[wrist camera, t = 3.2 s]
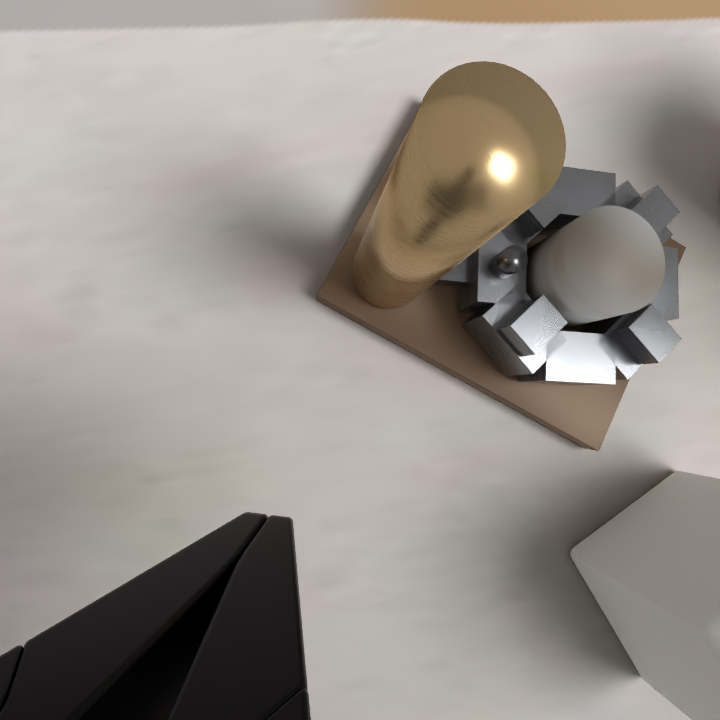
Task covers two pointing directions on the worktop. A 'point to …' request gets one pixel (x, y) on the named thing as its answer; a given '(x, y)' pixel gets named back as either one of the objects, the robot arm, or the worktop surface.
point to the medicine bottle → (664, 588)
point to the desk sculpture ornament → (505, 229)
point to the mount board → (464, 352)
